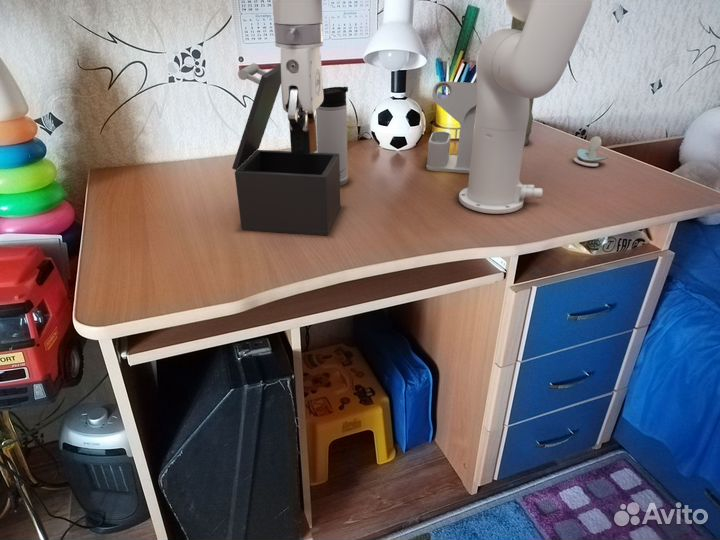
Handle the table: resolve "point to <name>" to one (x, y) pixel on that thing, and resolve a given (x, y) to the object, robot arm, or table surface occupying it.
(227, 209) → the table surface
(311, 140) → the orange cylinder
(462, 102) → the gray holder stand
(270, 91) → the lid
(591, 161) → the pacifier
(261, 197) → the dark storage box
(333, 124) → the travel mug
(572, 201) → the table surface
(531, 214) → the table surface
